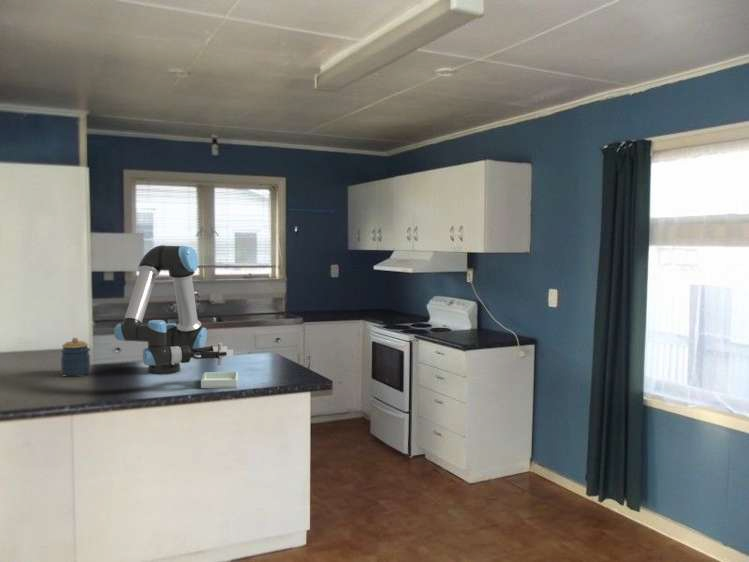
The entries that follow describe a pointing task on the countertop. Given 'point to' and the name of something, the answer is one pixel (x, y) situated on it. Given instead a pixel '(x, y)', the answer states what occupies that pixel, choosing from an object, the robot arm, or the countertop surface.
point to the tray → (219, 380)
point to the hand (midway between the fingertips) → (229, 351)
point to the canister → (75, 358)
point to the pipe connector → (220, 350)
